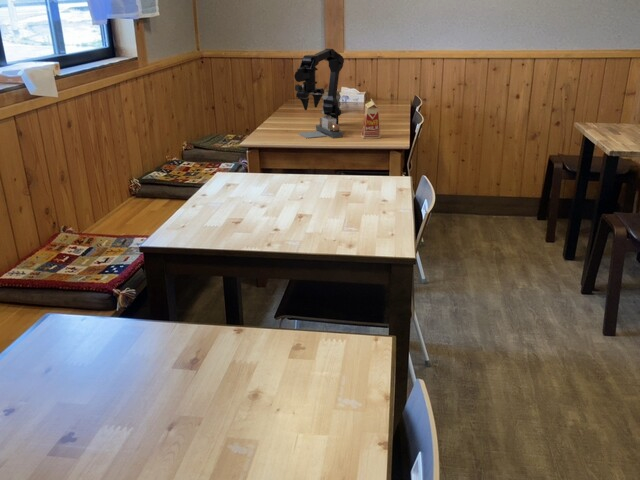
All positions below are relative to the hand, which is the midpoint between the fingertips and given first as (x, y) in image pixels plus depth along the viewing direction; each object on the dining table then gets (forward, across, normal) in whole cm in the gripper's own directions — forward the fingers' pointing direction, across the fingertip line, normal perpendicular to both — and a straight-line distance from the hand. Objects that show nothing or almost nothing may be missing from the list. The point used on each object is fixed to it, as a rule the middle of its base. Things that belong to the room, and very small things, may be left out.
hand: (310, 108), depth 318 cm
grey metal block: (+9, -2, +11) cm, 14 cm away
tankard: (+14, -57, -26) cm, 64 cm away
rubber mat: (+13, +7, +6) cm, 15 cm away
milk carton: (+13, -8, +34) cm, 37 cm away
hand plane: (+13, -2, +11) cm, 17 cm away
